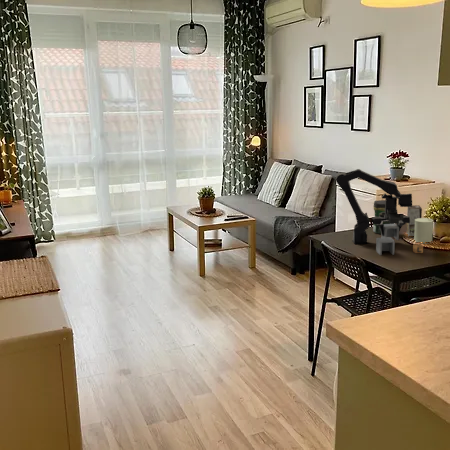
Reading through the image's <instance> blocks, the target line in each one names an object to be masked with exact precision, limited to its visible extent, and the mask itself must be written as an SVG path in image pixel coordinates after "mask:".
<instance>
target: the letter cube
mask: <svg viewBox="0 0 450 450" xmlns="http://www.w3.org/2000/svg"><path fill="white" fill-rule="evenodd" d="M412 252H413V253H415V254H423V253H424V244H423V245H422V243H413V244H412Z"/></svg>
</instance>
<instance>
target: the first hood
mask: <svg viewBox="0 0 450 450" xmlns="http://www.w3.org/2000/svg"><path fill="white" fill-rule="evenodd" d="M375 244H376V245H375V252H376V253H377V254H378V255H379V256H382V255H383V254H382V253H383V252H389V253H390V254H392V256H393V255H395V244H396V243H395V239H393V237H376V242H375Z"/></svg>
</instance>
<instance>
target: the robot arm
mask: <svg viewBox="0 0 450 450" xmlns="http://www.w3.org/2000/svg"><path fill="white" fill-rule="evenodd" d="M355 179H360V180H362V181H365V182H366V183H369V184H371V185H373V186H376V187H378V188H380V190H382V191H383V192H384V193H383V195H382V196H381V199H384V200H385V215H384V217H385V218H380V217H374V216H371V219H370V217H369V216H368V213H367V212H364V211H363V210H362V208H361V205H360V204H359V202H358V199H357V198H356V196H355V194H354V192H353V190H352V187H351V182H350V181H353V180H355ZM336 183H337V185H338V186H339V188H340V189H342V191H343V192H344V194H345V196H346V198H347V200H348V203H349V205H350V207H351V208H352V211H353V213H354V215H355V220H356V224H354V227H353V230H352V240H351V241H352V243H354V245H362V244H363V245H364V244H368V234H367V231H366V230H368V229H369V227H370V222H371V223H372V224H373V225H374V224H377V225H378V226H379V228H380V231H381V233H382V236H384V229H383V226H384V224H383V222H389V223H390V224H396V225H397V226H398V227H399V232H400V231H401V229H402V228H403V226H405V225H407V223H410V218H409V217H408V216H407V215H404V214H403V213H398V208H397V206H400V208H408V207H412V206H413V197H412V196H413V195H412V193H401V192H400V191H399V189H398V184H397V183H396V182H394V181H391V180H387V179H381V178H379V177H377V176H375V175H373V174H370V173H368V172H365V171H363V170H362V169H360V168H357V169H355V170H351V171H349V172H341V173H340V172H339V173H338V175H337V177H336Z"/></svg>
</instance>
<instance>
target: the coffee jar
mask: <svg viewBox="0 0 450 450" xmlns="http://www.w3.org/2000/svg"><path fill="white" fill-rule="evenodd" d="M372 209H373V211H374V215H373V217H380V218H385V217H384V215H385V199H384V200H374V202H373V208H372ZM383 224H390V223H389V222H383ZM372 231H373V233H375V234H381V231H380V228H379V226H378V225H377V224H373V226H372Z"/></svg>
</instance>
